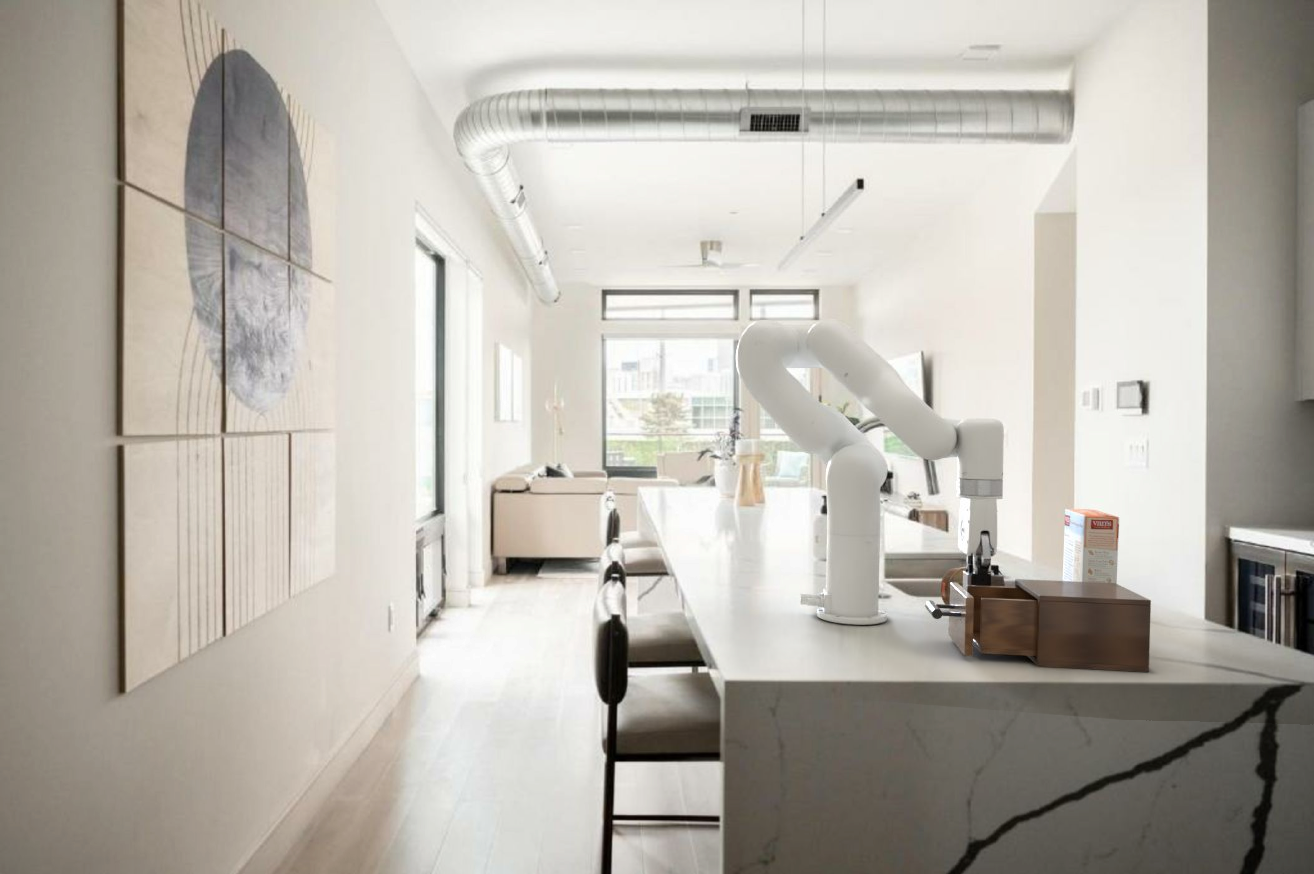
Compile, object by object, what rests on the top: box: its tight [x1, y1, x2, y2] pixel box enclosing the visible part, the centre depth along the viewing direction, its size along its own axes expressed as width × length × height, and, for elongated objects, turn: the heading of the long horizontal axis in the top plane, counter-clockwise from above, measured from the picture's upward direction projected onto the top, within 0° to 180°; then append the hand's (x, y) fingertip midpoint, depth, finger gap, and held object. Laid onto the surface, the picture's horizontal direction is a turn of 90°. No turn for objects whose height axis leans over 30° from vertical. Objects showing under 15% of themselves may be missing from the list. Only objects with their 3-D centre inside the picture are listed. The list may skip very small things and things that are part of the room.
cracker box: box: [1062, 508, 1120, 584], centre depth 162 cm, size 14×6×21 cm, turn 168°
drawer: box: [924, 582, 1038, 657], centre depth 145 cm, size 19×13×9 cm
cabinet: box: [1014, 578, 1152, 673], centre depth 143 cm, size 16×15×11 cm
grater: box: [963, 564, 1005, 590], centre depth 160 cm, size 6×4×11 cm, turn 82°
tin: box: [940, 566, 1006, 605], centre depth 179 cm, size 15×3×8 cm, turn 117°
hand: (977, 593), depth 160 cm, fingers closed on grater, 4 cm apart
